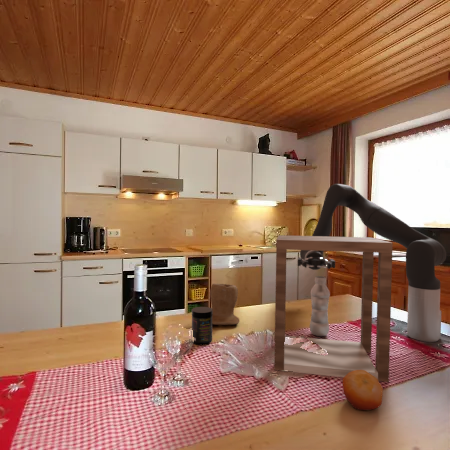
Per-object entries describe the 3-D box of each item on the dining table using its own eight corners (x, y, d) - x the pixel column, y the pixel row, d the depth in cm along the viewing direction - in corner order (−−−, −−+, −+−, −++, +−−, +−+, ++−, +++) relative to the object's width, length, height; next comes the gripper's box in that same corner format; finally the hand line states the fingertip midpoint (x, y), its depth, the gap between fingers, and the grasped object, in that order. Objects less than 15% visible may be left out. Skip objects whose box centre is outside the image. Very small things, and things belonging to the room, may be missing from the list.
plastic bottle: (326, 331, 114) (327, 275, 113) (331, 339, 107) (332, 279, 107) (308, 331, 114) (309, 275, 114) (311, 338, 108) (312, 278, 107)
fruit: (366, 384, 76) (376, 363, 71) (381, 419, 69) (392, 399, 65) (332, 384, 75) (340, 363, 71) (344, 419, 69) (353, 399, 64)
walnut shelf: (277, 341, 105) (278, 235, 104) (369, 349, 99) (371, 237, 98) (274, 370, 85) (276, 239, 84) (388, 382, 80) (392, 242, 79)
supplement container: (216, 342, 103) (217, 310, 103) (200, 347, 99) (200, 314, 99) (203, 336, 108) (203, 305, 108) (187, 341, 104) (187, 309, 104)
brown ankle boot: (238, 318, 128) (239, 280, 128) (239, 328, 116) (240, 287, 116) (200, 317, 128) (201, 280, 128) (197, 327, 116) (198, 286, 116)
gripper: (297, 249, 138) (298, 254, 122) (331, 251, 136) (337, 256, 120) (296, 267, 139) (297, 274, 123) (331, 269, 136) (336, 276, 120)
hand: (317, 265), depth 121 cm, fingers open, 8 cm apart
